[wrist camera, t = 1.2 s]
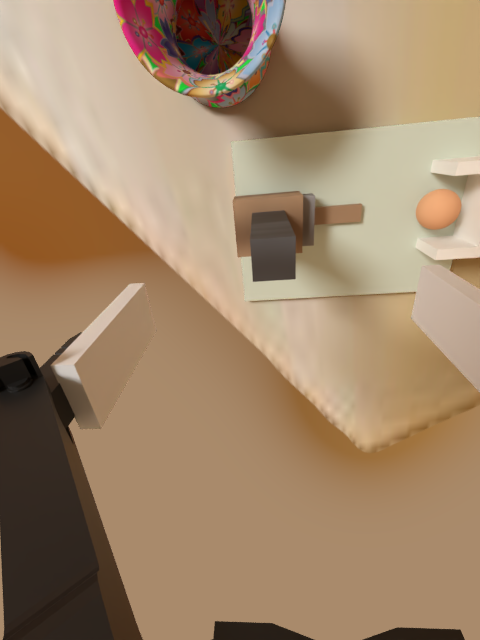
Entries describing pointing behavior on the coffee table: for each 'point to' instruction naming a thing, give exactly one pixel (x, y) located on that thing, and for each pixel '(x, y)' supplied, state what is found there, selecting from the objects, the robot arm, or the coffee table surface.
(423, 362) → the coffee table surface
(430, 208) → the ball
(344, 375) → the coffee table surface
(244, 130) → the coffee table surface
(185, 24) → the mug
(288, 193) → the kicker
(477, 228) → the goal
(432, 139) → the pitch
